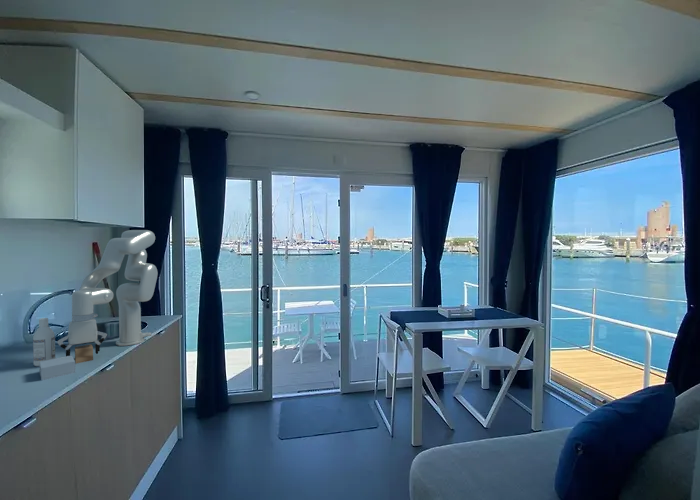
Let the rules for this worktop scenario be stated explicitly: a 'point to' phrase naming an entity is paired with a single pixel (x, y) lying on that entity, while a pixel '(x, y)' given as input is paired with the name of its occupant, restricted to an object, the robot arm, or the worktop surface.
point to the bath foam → (43, 343)
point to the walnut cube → (83, 353)
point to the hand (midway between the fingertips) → (83, 355)
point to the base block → (57, 367)
